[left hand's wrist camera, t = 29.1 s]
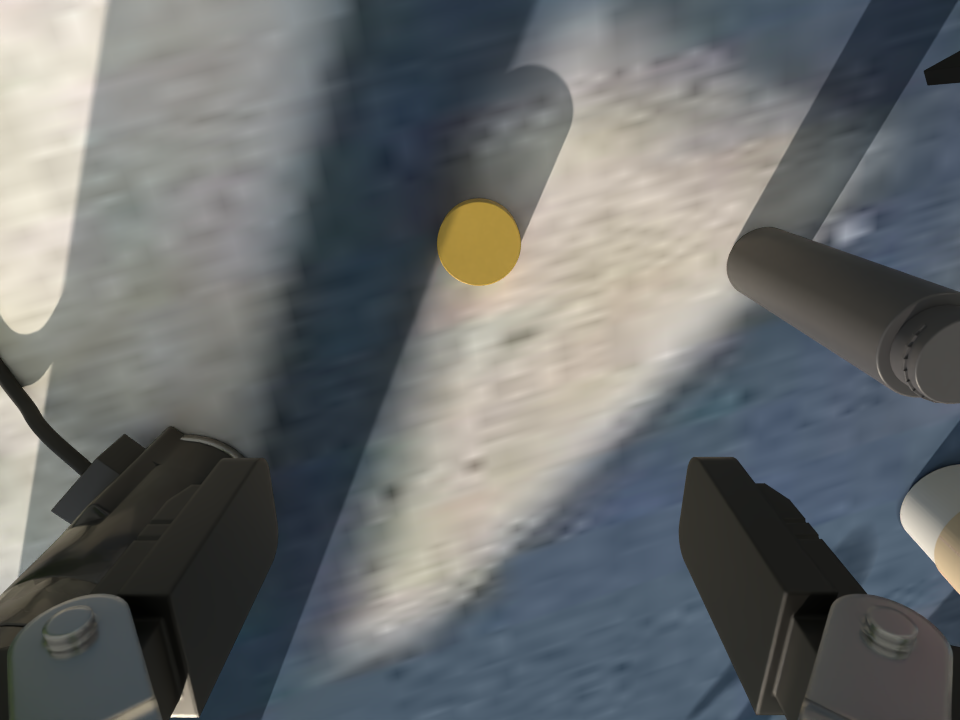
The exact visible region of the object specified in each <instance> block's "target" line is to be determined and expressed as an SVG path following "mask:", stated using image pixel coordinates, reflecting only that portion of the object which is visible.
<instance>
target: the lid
mask: <svg viewBox="0 0 960 720" xmlns="http://www.w3.org/2000/svg"><path fill="white" fill-rule="evenodd" d="M437 249H438V254H439V257H440V260H441V262H442V264H443V266H444V267H445V269H446V270H447V271H448V272H449V273H450V274H451V275H452V276H453V277H454V278H456V279H457V280H459V281H461V282H463V283H466V284H470V285H477V286H481V285H488V284H492V283H495V282H497V281H499V280H501V279H502V278H504V277H505V276H506V275H507V274H508V273H509V272H510V271H511V270H512V269H513V267H514V266H515V264H516V262H517V260H518V258H519V254H520V250H521V238H520V233H519V230H518V227H517V224H516V222H515V220H514V218H513V216H512V215H511V214H510V212H509V211H508V210H507V209H506V208H504V207H503V206H502V205H500V204H499V203H497V202H495V201H492V200H488V199H482V198H476V199H470V200H466V201H463V202H461V203H459V204H458V205H456V206H455V207H454V208H452V209H451V210H450V211H449V213H448V214H447V215H446V217H445V218H444V220H443V222H442V224H441V227H440V230H439V233H438V238H437Z"/></svg>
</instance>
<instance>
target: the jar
mask: <svg viewBox="0 0 960 720" xmlns="http://www.w3.org/2000/svg"><path fill="white" fill-rule="evenodd" d="M727 274H728V278H729V280H730V282H731V284H732V285H733V286H734V288H735V289H737V290H738V291H739V292H741V293H742V294H744V295H745V296H747V297H748V298H750V299H752V300H753V301H755V302H756V303H758V304H759V305H761V306H762V307H764V308H765V309H767V310H769V311H770V312H772V313H773V314H775V315H776V316H778V317H779V318H781V319H783V320H784V321H786V322H787V323H789V324H790V325H792V326H793V327H795V328H796V329H798V330H800V331H801V332H803V333H804V334H806V335H807V336H809V337H810V338H812V339H814V340H815V341H817V342H818V343H820V344H821V345H823V346H824V347H826V348H827V349H829V350H831V351H832V352H834V353H835V354H837V355H838V356H840V357H841V358H843V359H845V360H846V361H848V362H849V363H851V364H852V365H854V366H855V367H857V368H858V369H860V370H862V371H863V372H865V373H866V374H868V375H869V376H871V377H872V378H874V379H875V380H877V381H879V382H880V383H882V384H883V385H885V386H886V387H888V388H889V389H891V390H893V391H894V392H896V393H898V394H901V395H904V396H909V397H921V398H923V399H926V400H929V401H932V402H934V403H946V404H955V403H960V292H958V291H955V290H952V289H949V288H946V287H944V286H941V285H938V284H935V283H932V282H929V281H926V280H924V279H921V278H918V277H915V276H912V275H909V274H906V273H904V272H901V271H898V270H895V269H892V268H889V267H886V266H884V265H881V264H878V263H875V262H872V261H869V260H866V259H864V258H861V257H858V256H855V255H852V254H849V253H846V252H844V251H841V250H838V249H835V248H832V247H829V246H826V245H824V244H821V243H818V242H815V241H812V240H809V239H806V238H804V237H801V236H798V235H795V234H792V233H789V232H786V231H784V230H781V229H777V228H773V227H764V228H759V229H756V230H753V231H751V232H749V233H747V234H746V235H744V236H743V237H742V238H741V239H740V240H739V241H738V242H737V243H736V244H735V245H734V247H733V248H732V250H731V252H730V254H729V257H728V262H727Z"/></svg>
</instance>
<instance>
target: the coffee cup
mask: <svg viewBox="0 0 960 720" xmlns="http://www.w3.org/2000/svg"><path fill="white" fill-rule="evenodd" d="M900 517H901V522H902V525H903V527H904V529H905V530H906V531H907V532H908V534H909V535H910V536H911V537H912V538H913V539H914V540H915V541H916V543H917V544H918V545H919V546H920V547H921V548H922V549H923V550H924V552H925V553H926V554H927V555H928V556H929V557H930V558H931V559H932V561H933V562H934V563H935V564H936V566H937V568H938V570H939V571H940V573H941V574H942V575H943V576H944V577H945V578H946V579H947V581H948V582H949V583H950V584H951V585H952V586H953V587H954V589H955V590H956V591H957V592H958V593H959V594H960V464H958V465H951V466H947V467H943V468H941V469H938V470H936V471H934V472H932V473H930V474H928V475H926V476H925V477H924V478H922V479H921V480H920V481H918V482H917V483H916V484H915V485H914V486H913V487H912V488H911V490H910V491H909V492H908V494H907V495H906V497H905V499H904V501H903V503H902V506H901V512H900Z"/></svg>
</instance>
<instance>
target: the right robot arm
mask: <svg viewBox="0 0 960 720" xmlns="http://www.w3.org/2000/svg"><path fill="white" fill-rule="evenodd" d="M924 74H925V77H926V81H927V85H938V84H949V83H960V51H959V52H957V53H955V54H953V55H952V56H950V57H948V58H946V59H944V60H942V61H941V62H939V63H937V64H935V65H933V66H932V67H930V68H928V69H926V70H924Z"/></svg>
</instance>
